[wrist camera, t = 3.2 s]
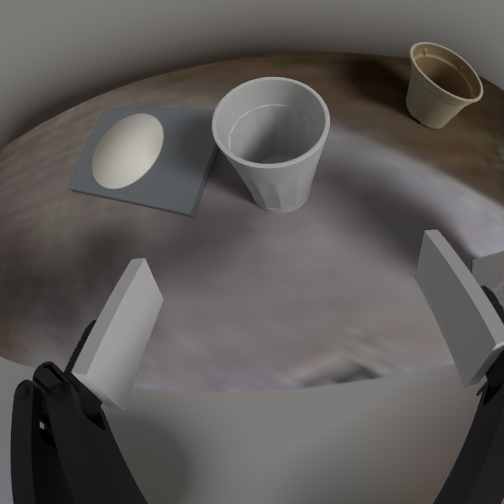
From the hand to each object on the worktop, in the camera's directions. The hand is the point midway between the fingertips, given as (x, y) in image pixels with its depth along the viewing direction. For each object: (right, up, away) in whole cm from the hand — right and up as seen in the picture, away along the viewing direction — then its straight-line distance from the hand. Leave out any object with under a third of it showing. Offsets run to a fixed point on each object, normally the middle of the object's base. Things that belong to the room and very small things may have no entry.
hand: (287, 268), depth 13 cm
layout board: (-15, +13, +20) cm, 28 cm away
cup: (+1, +8, +17) cm, 18 cm away
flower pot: (+21, +19, +16) cm, 32 cm away
